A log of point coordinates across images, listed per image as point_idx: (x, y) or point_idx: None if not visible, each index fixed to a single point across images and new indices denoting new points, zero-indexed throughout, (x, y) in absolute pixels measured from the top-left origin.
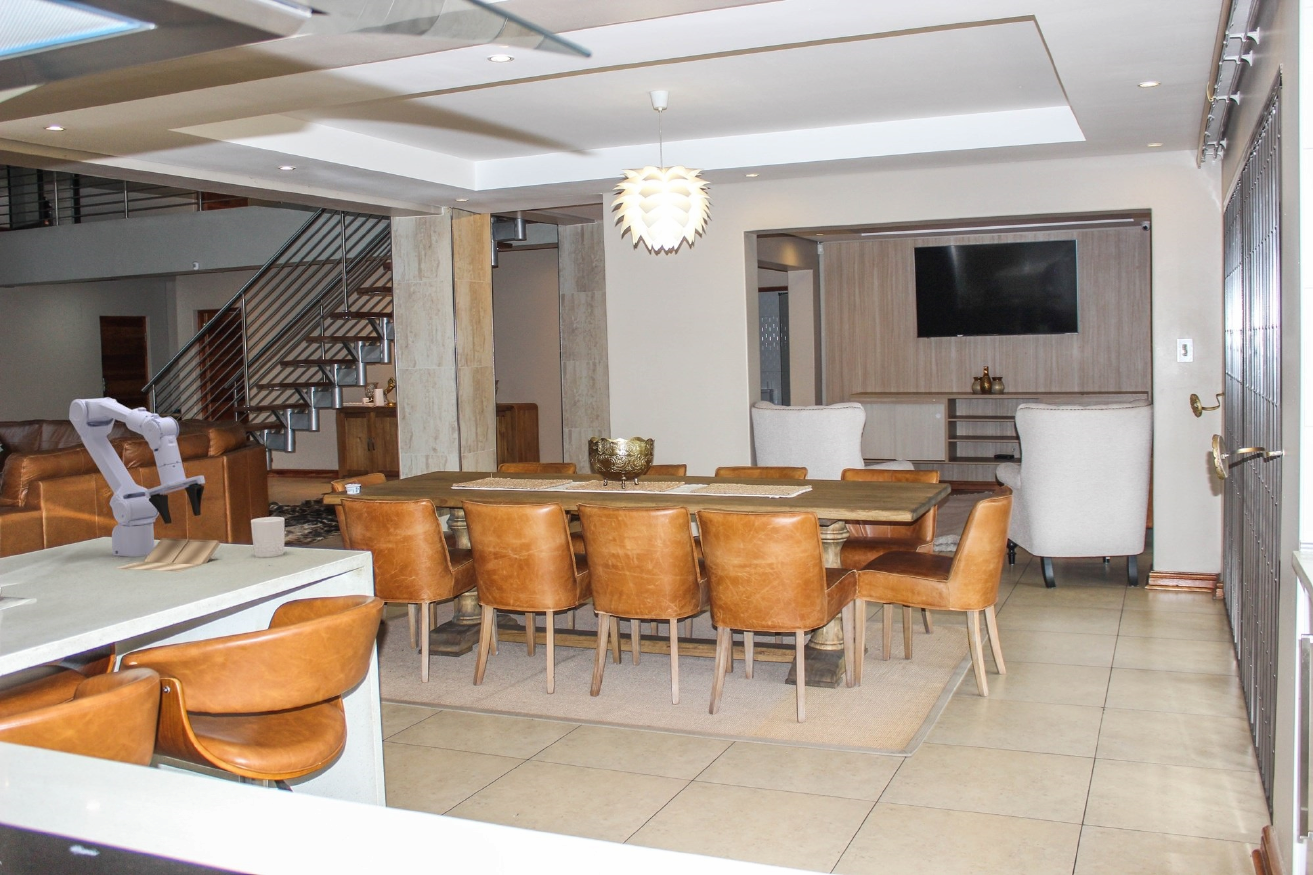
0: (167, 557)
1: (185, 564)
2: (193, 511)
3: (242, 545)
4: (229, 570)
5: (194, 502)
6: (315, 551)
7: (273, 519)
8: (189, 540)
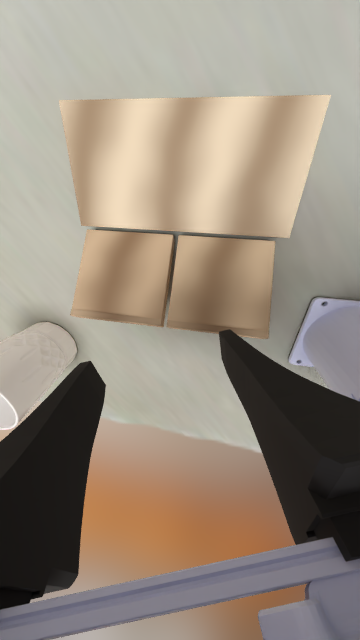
0: (201, 255)
1: (124, 221)
2: (77, 372)
3: (188, 434)
4: (25, 229)
5: (32, 414)
6: (44, 395)
7: (5, 422)
8: (161, 321)
